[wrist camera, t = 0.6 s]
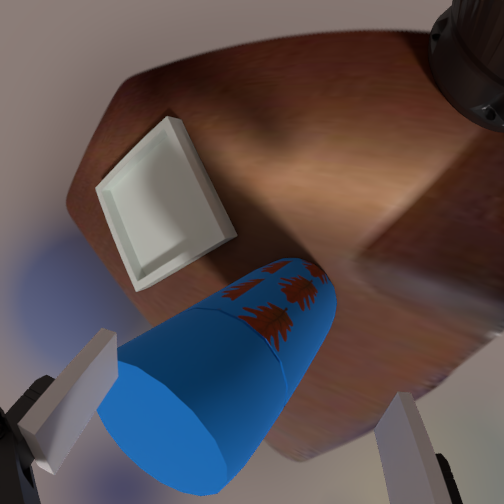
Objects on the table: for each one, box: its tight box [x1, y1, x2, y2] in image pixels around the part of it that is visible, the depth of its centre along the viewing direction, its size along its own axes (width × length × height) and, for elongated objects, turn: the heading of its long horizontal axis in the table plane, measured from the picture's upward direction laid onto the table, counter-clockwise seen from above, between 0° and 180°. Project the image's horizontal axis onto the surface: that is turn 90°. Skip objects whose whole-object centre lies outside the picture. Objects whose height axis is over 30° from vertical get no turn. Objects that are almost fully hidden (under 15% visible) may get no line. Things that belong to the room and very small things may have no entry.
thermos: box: [97, 258, 337, 496], centre depth 27 cm, size 11×11×25 cm
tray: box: [95, 116, 238, 292], centre depth 43 cm, size 18×18×3 cm
